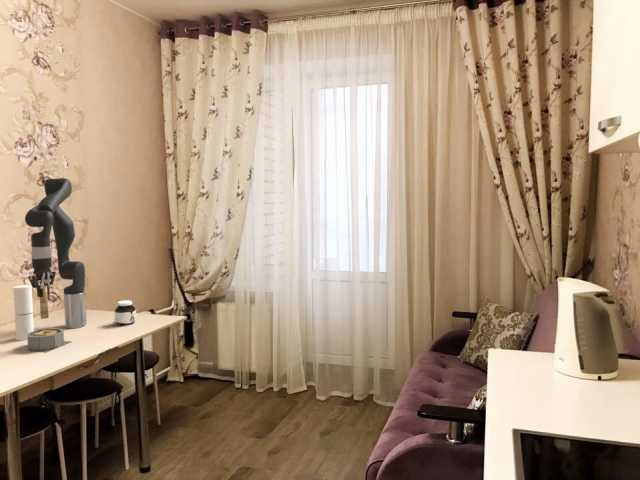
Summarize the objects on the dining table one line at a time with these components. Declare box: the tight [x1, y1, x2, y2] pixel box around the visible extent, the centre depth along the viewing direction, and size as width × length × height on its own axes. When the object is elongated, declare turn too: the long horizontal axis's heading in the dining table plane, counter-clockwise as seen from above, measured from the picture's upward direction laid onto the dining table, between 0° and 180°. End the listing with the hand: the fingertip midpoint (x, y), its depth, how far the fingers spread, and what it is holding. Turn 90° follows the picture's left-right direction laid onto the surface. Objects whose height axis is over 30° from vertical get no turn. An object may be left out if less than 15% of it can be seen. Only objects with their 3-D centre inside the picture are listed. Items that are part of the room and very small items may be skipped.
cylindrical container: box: [13, 284, 35, 342], centre depth 228 cm, size 7×7×25 cm
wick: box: [39, 286, 49, 320], centre depth 216 cm, size 3×3×14 cm
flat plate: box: [18, 340, 73, 353], centre depth 218 cm, size 16×14×1 cm
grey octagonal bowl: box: [26, 327, 65, 351], centre depth 218 cm, size 14×14×6 cm
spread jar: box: [114, 300, 137, 327], centre depth 260 cm, size 12×11×12 cm
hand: (43, 296), depth 216 cm, fingers closed on wick, 3 cm apart
